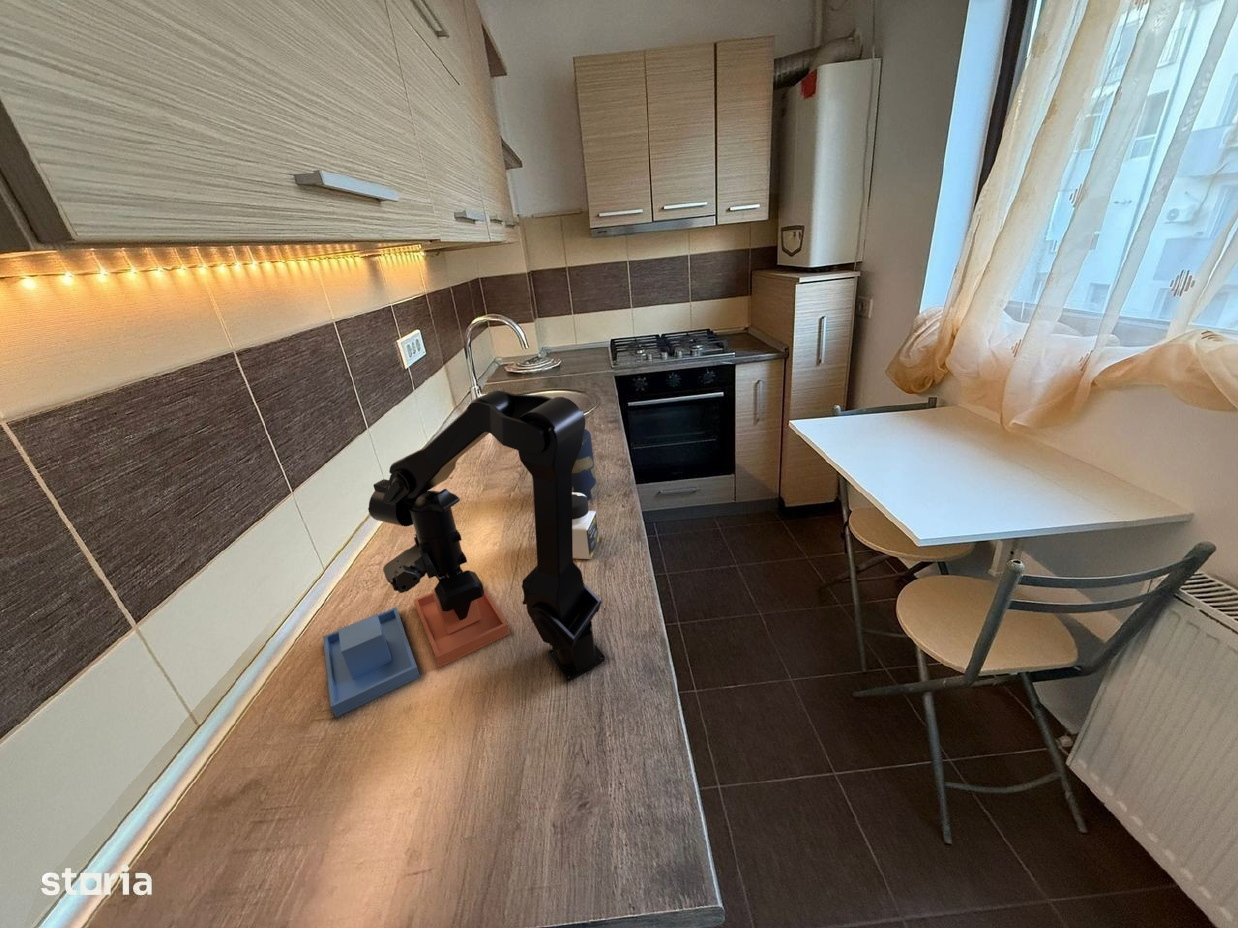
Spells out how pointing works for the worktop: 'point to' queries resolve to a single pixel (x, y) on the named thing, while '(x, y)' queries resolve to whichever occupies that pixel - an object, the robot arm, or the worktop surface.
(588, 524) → the medicine bottle
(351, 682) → the blue tray
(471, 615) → the terracotta block
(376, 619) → the blue block
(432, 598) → the terracotta tray
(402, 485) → the robot arm
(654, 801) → the worktop surface
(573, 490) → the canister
